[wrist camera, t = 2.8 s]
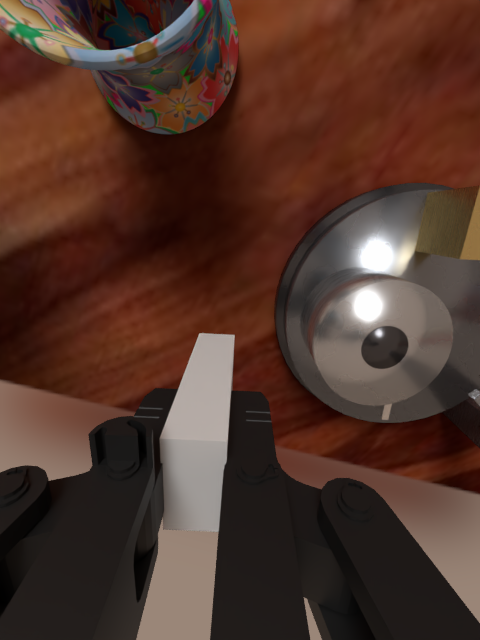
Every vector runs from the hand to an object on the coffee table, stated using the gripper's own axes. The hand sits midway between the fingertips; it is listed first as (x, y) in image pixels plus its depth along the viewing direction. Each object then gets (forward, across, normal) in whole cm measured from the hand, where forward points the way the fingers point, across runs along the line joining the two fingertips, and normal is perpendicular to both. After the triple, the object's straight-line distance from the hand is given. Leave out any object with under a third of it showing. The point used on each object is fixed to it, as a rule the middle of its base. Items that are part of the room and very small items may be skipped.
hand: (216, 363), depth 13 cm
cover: (+7, +8, 0) cm, 11 cm away
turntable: (+9, +12, 0) cm, 15 cm away
